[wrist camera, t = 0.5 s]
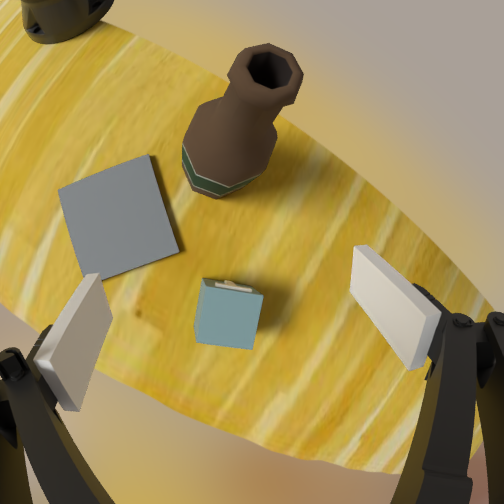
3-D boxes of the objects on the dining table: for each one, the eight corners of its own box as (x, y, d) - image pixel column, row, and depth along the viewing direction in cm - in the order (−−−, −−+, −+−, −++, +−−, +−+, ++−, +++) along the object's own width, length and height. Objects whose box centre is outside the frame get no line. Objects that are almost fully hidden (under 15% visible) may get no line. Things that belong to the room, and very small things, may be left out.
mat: (60, 190, 32) (57, 189, 31) (149, 155, 34) (148, 153, 33) (88, 284, 33) (86, 285, 32) (179, 251, 35) (179, 252, 35)
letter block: (241, 332, 38) (252, 349, 32) (193, 325, 36) (196, 342, 31) (251, 283, 38) (264, 292, 32) (202, 275, 36) (206, 283, 31)
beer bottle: (214, 125, 35) (265, -8, 12) (259, 168, 37) (371, 85, 14) (168, 169, 35) (150, 64, 11) (215, 214, 36) (277, 180, 13)
